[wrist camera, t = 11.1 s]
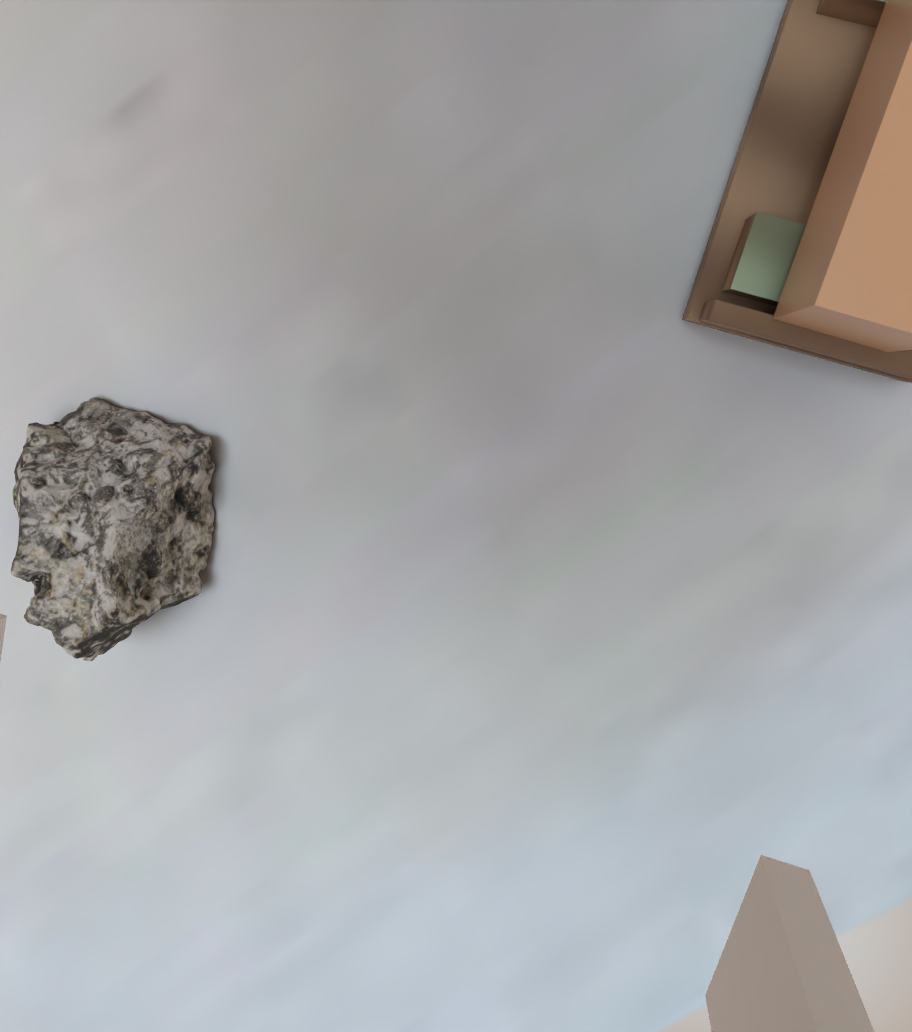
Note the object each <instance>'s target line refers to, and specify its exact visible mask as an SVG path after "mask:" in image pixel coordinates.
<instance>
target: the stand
mask: <svg viewBox="0 0 912 1032" xmlns="http://www.w3.org/2000/svg"><path fill="white" fill-rule="evenodd" d="M886 1H887V0H788V3H787V6H786V9H785V12H784V15H783V18H782V21H781V24H780V27H779V30H778V33H777V36H776V39H775V42H774V45H773V48H772V51H771V54H770V57H769V60H768V63H767V66H766V69H765V72H764V75H763V78H762V81H761V84H760V87H759V90H758V93H757V96H756V99H755V102H754V105H753V108H752V111H751V114H750V117H749V120H748V123H747V126H746V129H745V132H744V135H743V138H742V141H741V144H740V147H739V150H738V153H737V156H736V159H735V162H734V165H733V168H732V171H731V174H730V177H729V180H728V183H727V186H726V189H725V192H724V195H723V198H722V201H721V204H720V207H719V211H718V214H717V217H716V220H715V223H714V226H713V229H712V232H711V235H710V238H709V241H708V244H707V247H706V250H705V253H704V256H703V259H702V262H701V265H700V268H699V271H698V274H697V277H696V280H695V283H694V286H693V289H692V292H691V295H690V298H689V301H688V304H687V307H686V310H685V313H684V316H683V319H682V320H685V321H689V322H693V323H696V324H700V325H703V326H707V327H711V328H714V329H718V330H721V331H725V332H729V333H732V334H736V335H739V336H743V337H747V338H750V339H754V340H757V341H761V342H764V343H768V344H772V345H775V346H779V347H782V348H786V349H790V350H793V351H797V352H800V353H804V354H808V355H811V356H815V357H818V358H822V359H826V360H829V361H833V362H836V363H840V364H843V365H847V366H851V367H854V368H858V369H861V370H865V371H869V372H872V373H876V374H879V375H883V376H887V377H890V378H894V379H897V380H901V381H906V382H911V383H912V350H905V351H895V352H885V351H882V350H878V349H875V348H871V347H868V346H864V345H861V344H857V343H854V342H851V341H847V340H844V339H840V338H837V337H833V336H830V335H826V334H823V333H820V332H816V331H813V330H809V329H806V328H802V327H799V326H795V325H792V324H789V323H785V322H782V321H778V320H775V319H773V316H774V314H775V311H776V308H777V305H778V302H779V300H780V297H781V294H782V291H783V289H784V286H785V283H786V280H787V277H788V275H789V272H790V269H791V266H792V263H793V261H794V258H795V255H796V252H797V249H798V247H799V244H800V241H801V238H802V236H803V233H804V230H805V227H806V224H807V222H808V219H809V216H810V213H811V210H812V208H813V205H814V202H815V199H816V196H817V194H818V191H819V188H820V185H821V183H822V180H823V177H824V174H825V171H826V169H827V166H828V163H829V160H830V157H831V155H832V152H833V149H834V146H835V143H836V141H837V138H838V135H839V132H840V130H841V127H842V124H843V121H844V118H845V116H846V113H847V110H848V107H849V104H850V102H851V99H852V96H853V93H854V90H855V88H856V85H857V82H858V79H859V77H860V74H861V71H862V68H863V65H864V63H865V60H866V57H867V54H868V51H869V49H870V46H871V43H872V40H873V37H874V35H875V32H876V29H877V26H878V24H879V21H880V18H881V15H882V12H883V10H884V7H885V4H886Z"/></svg>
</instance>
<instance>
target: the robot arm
mask: <svg viewBox="0 0 912 1032" xmlns="http://www.w3.org/2000/svg"><path fill="white" fill-rule="evenodd" d="M5 623H6V615H3V614H0V660H1V653H2V645H3V638H4V631H5ZM706 1001H707V1007H708V1013H709V1019H710V1025H711V1031H712V1032H874V1030H873V1027H872V1025H871V1023H870V1020H869V1018H868V1015H867V1013H866V1010H865V1008H864V1005H863V1002H862V1000H861V997H860V995H859V993H858V990H857V988H856V985H855V983H854V980H853V978H852V975H851V973H850V970H849V968H848V965H847V963H846V961H845V958H844V955H843V953H842V951H841V948H840V945H839V943H838V940H837V938H836V935H835V933H834V930H833V928H832V925H831V923H830V921H829V918H828V916H827V913H826V911H825V908H824V906H823V903H822V901H821V898H820V896H819V893H818V891H817V888H816V886H815V883H814V881H813V878H812V876H811V873H810V871H809V870H807V869H803V868H800V867H797V866H794V865H791V864H788V863H785V862H781V861H778V860H775V859H772V858H769V857H766V856H762V855H761V857H760V859H759V862H758V864H757V867H756V869H755V872H754V874H753V877H752V879H751V882H750V884H749V887H748V889H747V892H746V894H745V897H744V899H743V902H742V905H741V907H740V910H739V912H738V915H737V917H736V920H735V922H734V925H733V927H732V930H731V932H730V935H729V937H728V940H727V942H726V945H725V947H724V950H723V952H722V955H721V958H720V960H719V963H718V965H717V968H716V970H715V973H714V975H713V978H712V980H711V983H710V985H709V988H708V990H707V993H706Z"/></svg>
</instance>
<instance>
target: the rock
mask: <svg viewBox="0 0 912 1032" xmlns="http://www.w3.org/2000/svg"><path fill="white" fill-rule="evenodd" d="M211 444H212V441H211V439H210V437H209V436H203V435H200V434H196V433H194V432H193V431H192V430H191V429H190V428H188V427H187V426H186V425H181V424H165V423H163V422H162V421H161V420H159V419H158V418H155V417H152V416H151V415H149V414H148V413H146V412H138V411H131V410H129V409H120V408H118V407H117V406H113V405H111V404H109V403H108V402H106V401H105V400H102V399H98V398H91V399H90V400H89V401H86V402H83V403H82V404H81V405H80V406H79V408H78V409H77V411H74V412H72V413H69V414H67V415H66V416H65V417H64V418H63V419H62V420H61V421H60V422H54V424H51V425H42V424H39V423H31V424H28V429H27V440H26V443H25V445H24V447H23V452H22V454H21V456H20V458H19V460H18V462H17V464H16V467H15V471H14V473H15V479H16V485H15V487H14V489H13V499H14V505H15V507H16V509H17V511H18V517H19V522H20V524H19V540H18V548H17V552H16V556H15V558H14V560H13V563H12V568H11V574H12V575H13V576H15V577H18V578H20V579H23V580H25V581H27V582H30V581H32V583H33V584H34V593H35V596H34V597H33V598H31V601H30V606H29V607H28V608H27V611H26V613H25V615H24V618H25V619H26V621H27V622H28V623H30V624H33V625H36V626H42V627H44V628H46V629H49V630H51V631H52V633H53V636H54V639H55V641H56V643H57V644H59V645H60V646H61V647H63V649H64V650H65V651H66V652H67V653H68V654H70V655H72V656H73V657H74V658H77V659H78V658H81V657H82V658H83V660H86V661H92V660H94V659H95V658H96V657H97V656H98V655H100V654H104V653H105V652H107V651H108V650H109V649H111V648H112V647H114V646H115V645H116V644H117V643H118V642H120V641H122V640H124V639H126V638H127V637H129V635H130V634H131V631H132V628H133V627H135V626H136V625H138V624H139V623H141V622H143V621H145V620H146V619H148V618H149V617H151V616H152V615H154V614H155V613H156V612H158V610H160V609H164V608H168V607H171V606H175V605H178V604H180V603H181V602H183V601H186V600H188V599H191V598H193V597H195V596H197V595H198V594H199V593H200V592H201V584H202V580H201V578H200V577H199V575H198V574H199V571H201V570H204V569H205V567H206V566H207V557H208V555H209V553H210V550H211V543H212V536H211V533H212V532H213V530H214V526H213V521H214V514H215V512H214V509H213V506H212V503H211V501H212V496H213V493H212V492H211V491H210V490H209V489H208V486H209V483H210V481H211V478H212V474H213V472H214V470H215V464H214V463H212V462H211V458H210V456H209V454H208V451H209V450H210V449H211Z"/></svg>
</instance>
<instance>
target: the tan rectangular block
mask: <svg viewBox="0 0 912 1032" xmlns="http://www.w3.org/2000/svg"><path fill="white" fill-rule="evenodd" d="M773 319H775V320H778V321H782V322H785V323H789V324H792V325H795V326H799V327H802V328H806V329H809V330H813V331H816V332H820V333H823V334H826V335H830V336H833V337H837V338H840V339H844V340H847V341H851V342H854V343H857V344H861V345H864V346H868V347H871V348H875V349H878V350H882V351H885V352H895V351H905V350H912V0H887V1H886V4H885V7H884V10H883V12H882V15H881V18H880V21H879V24H878V26H877V29H876V32H875V35H874V37H873V40H872V43H871V46H870V49H869V51H868V54H867V57H866V60H865V63H864V65H863V68H862V71H861V74H860V77H859V79H858V82H857V85H856V88H855V90H854V93H853V96H852V99H851V102H850V104H849V107H848V110H847V113H846V116H845V118H844V121H843V124H842V127H841V130H840V132H839V135H838V138H837V141H836V143H835V146H834V149H833V152H832V155H831V157H830V160H829V163H828V166H827V169H826V171H825V174H824V177H823V180H822V183H821V185H820V188H819V191H818V194H817V196H816V199H815V202H814V205H813V208H812V210H811V213H810V216H809V219H808V222H807V224H806V227H805V230H804V233H803V236H802V238H801V241H800V244H799V247H798V249H797V252H796V255H795V258H794V261H793V263H792V266H791V269H790V272H789V275H788V277H787V280H786V283H785V286H784V289H783V291H782V294H781V297H780V300H779V302H778V305H777V308H776V311H775V314H774V316H773Z"/></svg>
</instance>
